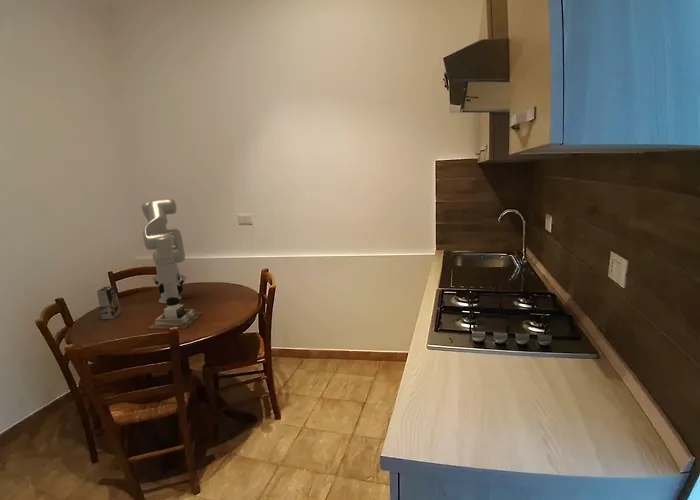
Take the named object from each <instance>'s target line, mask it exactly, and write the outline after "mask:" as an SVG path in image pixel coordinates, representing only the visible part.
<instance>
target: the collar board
mask: <svg viewBox="0 0 700 500" xmlns="http://www.w3.org/2000/svg"><path fill="white" fill-rule="evenodd" d="M184 311H185V315H184V316H183V317H182V318H180V319H165V313H164V312H163V313H162V314H160V316H158V317H156V319H154V322H153V323H152V324H151V325H150V326H147V331H153V330H170V329H169V328H172V327H178V328H179V329H178V330H187V329H188V328H189V327H190V326H191V325H192V324H193V323H195V321H197V320H198V319H199V318H200V317H201V316H202V315H203V312H202V311H200V312H196V310H195V308H187V309H186V308H184Z"/></svg>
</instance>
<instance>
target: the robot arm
mask: <svg viewBox="0 0 700 500" xmlns="http://www.w3.org/2000/svg"><path fill="white" fill-rule="evenodd" d="M177 209H178V208H177V204H176V201H175V200H174V199H172V198H164V199H163V198H161V199H154V200H151V201H150V200H149V201H146V202H143V203H142V205H141V210H142V212H143V215H144V217H145V218H146V220H147V222H148V223H146V225H145V227H144V228H143V232H142V236H143V237H142V238H143V243H144V247H145V248H146V250H149V251H152V250H154V252H153V253H152V260H153V262H154V267H155V269H156V275H155V276H154V277H152V278H151V279H152V280H153V282H154V284H156V285H157V287H158V290H159V293H160V298H159V299H158V303H160V304H167V302H166V300H167V299H168V298H170V297H178V298H179V301H180V300H182V296H181V295H179V294H181V293H183V291H184V290H183V284H184V283H185V281H186V279H187V276H185V275H183V274H181V273H180V271H179V267H178V263H182V262H184V261H185V259H186V253H185V248H184V247H185V246H184V243H183V237H182V233H181V231H180V230H179V229H177V228H171V229H168V228H167V224H168V218H167V217H168V216H167V215H174V214H176V213H177ZM173 246H174V247H173Z"/></svg>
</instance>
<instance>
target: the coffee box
mask: <svg viewBox="0 0 700 500" xmlns="http://www.w3.org/2000/svg"><path fill="white" fill-rule="evenodd" d="M96 294H97V300H98V305H99V311H100V316H101V320H111V319H115V318H116V317H117V316H118V315H120V314H121V307H120V303H119V297H118V293H117V286H116V285H109V286H104V287H102V288H100V289H99V290H97V291H96Z"/></svg>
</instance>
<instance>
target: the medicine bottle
mask: <svg viewBox="0 0 700 500" xmlns="http://www.w3.org/2000/svg"><path fill="white" fill-rule="evenodd" d="M166 302H167V303H166V307H165V308H164V309H163V314H164V313H165V319H180V318H182V317H183V316H184V315H185V311H184V309H185V306H184V304H181V303H180V300H179V298H178V297H170V298H168V299H167V300H166Z"/></svg>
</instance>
